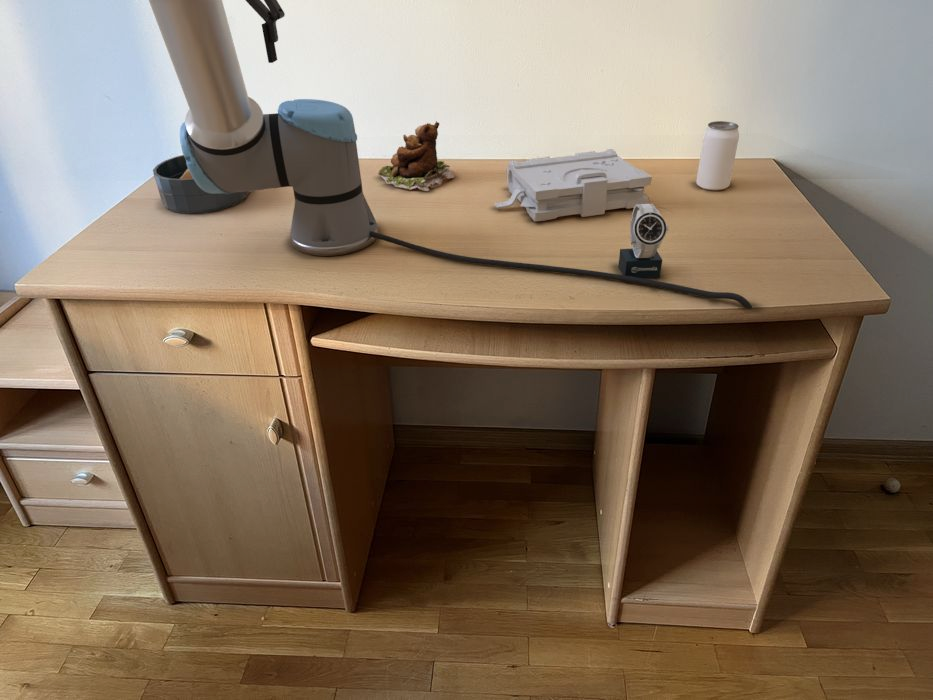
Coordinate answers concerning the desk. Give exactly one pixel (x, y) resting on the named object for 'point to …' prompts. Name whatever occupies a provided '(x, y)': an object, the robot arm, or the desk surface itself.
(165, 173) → the dark blue bowl
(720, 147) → the can
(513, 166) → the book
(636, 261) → the watch
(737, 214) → the desk surface
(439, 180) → the bear figurine
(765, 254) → the desk surface
